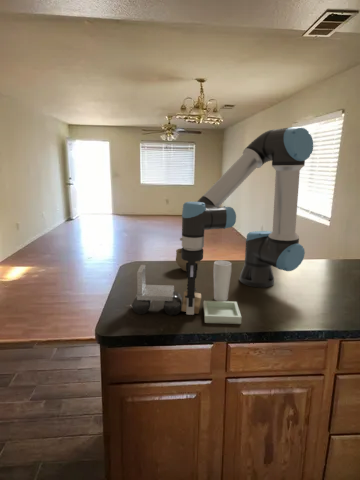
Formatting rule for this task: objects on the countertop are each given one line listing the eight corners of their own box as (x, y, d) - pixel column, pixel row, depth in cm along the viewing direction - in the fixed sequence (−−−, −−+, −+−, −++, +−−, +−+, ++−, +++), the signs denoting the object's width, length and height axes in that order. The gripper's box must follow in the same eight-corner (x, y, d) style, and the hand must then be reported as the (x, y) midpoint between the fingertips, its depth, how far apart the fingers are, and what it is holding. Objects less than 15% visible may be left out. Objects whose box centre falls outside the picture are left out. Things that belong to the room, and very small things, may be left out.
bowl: (201, 274, 150) (202, 254, 148) (175, 274, 150) (175, 254, 148) (200, 266, 162) (201, 247, 160) (175, 265, 162) (176, 247, 160)
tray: (236, 307, 116) (236, 301, 115) (241, 324, 104) (241, 317, 103) (203, 306, 116) (203, 300, 116) (204, 322, 104) (205, 315, 104)
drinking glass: (218, 304, 118) (220, 266, 115) (208, 297, 124) (210, 261, 121) (233, 301, 121) (235, 264, 118) (222, 294, 127) (224, 259, 124)
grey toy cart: (181, 304, 117) (182, 265, 114) (180, 317, 108) (181, 274, 104) (136, 303, 118) (135, 263, 114) (131, 315, 108) (130, 272, 104)
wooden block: (198, 308, 114) (200, 293, 113) (198, 313, 110) (201, 298, 109) (181, 306, 114) (184, 290, 113) (181, 311, 110) (184, 295, 109)
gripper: (182, 241, 115) (180, 300, 121) (180, 254, 99) (178, 322, 104) (202, 242, 115) (200, 301, 120) (204, 255, 98) (201, 323, 104)
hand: (190, 310), depth 112 cm, fingers closed on wooden block, 4 cm apart
